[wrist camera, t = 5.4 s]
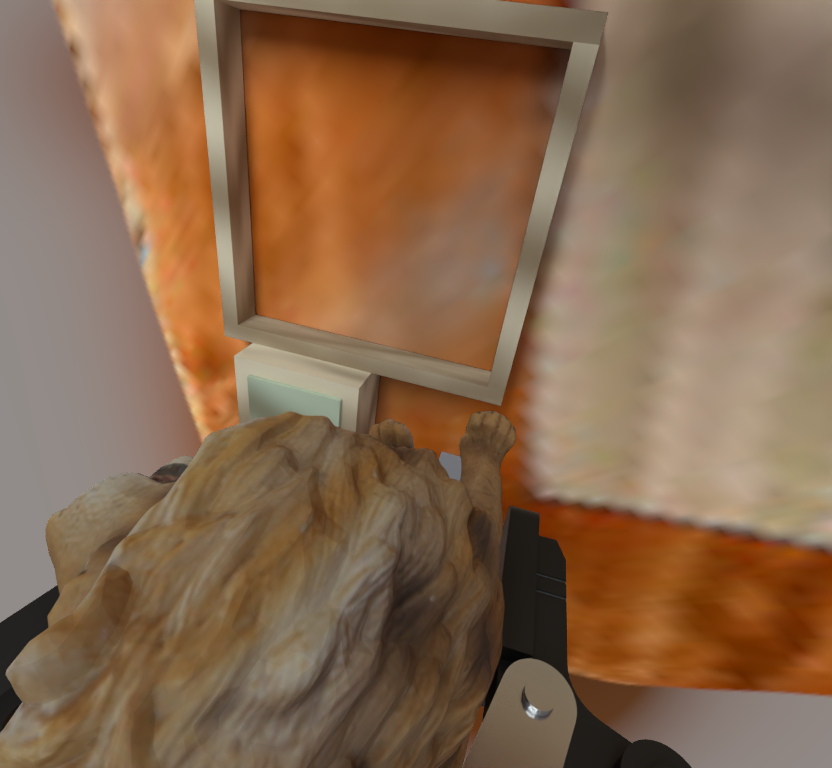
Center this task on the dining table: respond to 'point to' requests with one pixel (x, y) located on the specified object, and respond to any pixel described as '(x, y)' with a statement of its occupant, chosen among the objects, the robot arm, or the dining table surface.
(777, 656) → the dining table surface
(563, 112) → the grey rectangular frame
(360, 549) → the lion figurine
